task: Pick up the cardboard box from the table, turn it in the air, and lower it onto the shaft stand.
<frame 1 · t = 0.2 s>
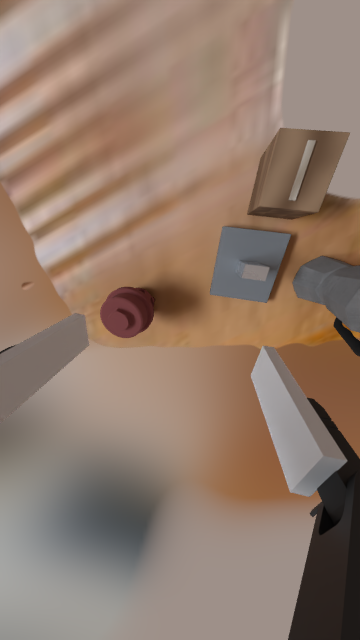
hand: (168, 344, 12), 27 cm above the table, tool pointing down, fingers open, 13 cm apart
cardboard box: (277, 190, 29), on the table
coffeepot: (315, 284, 35), on the table
shaft stand: (244, 266, 35), on the table
mechanical component: (142, 299, 41), on the table
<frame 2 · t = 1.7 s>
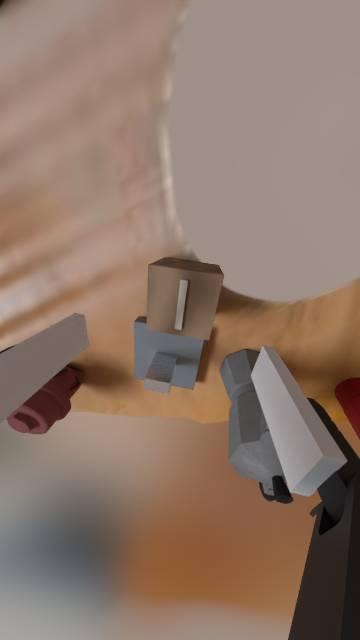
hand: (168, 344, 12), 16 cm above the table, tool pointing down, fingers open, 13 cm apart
cardboard box: (187, 287, 26), on the table
coffeepot: (244, 372, 32), on the table
shaft stand: (168, 351, 32), on the table
plastic cup: (350, 388, 30), on the table
mechanical component: (72, 372, 39), on the table
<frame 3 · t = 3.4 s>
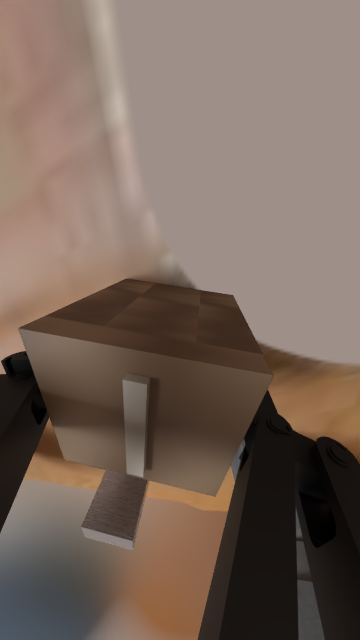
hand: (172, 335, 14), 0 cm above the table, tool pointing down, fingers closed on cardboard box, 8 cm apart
cardboard box: (172, 333, 14), on the table, touching gripper
coffeepot: (269, 459, 20), on the table
shaft stand: (145, 424, 20), on the table
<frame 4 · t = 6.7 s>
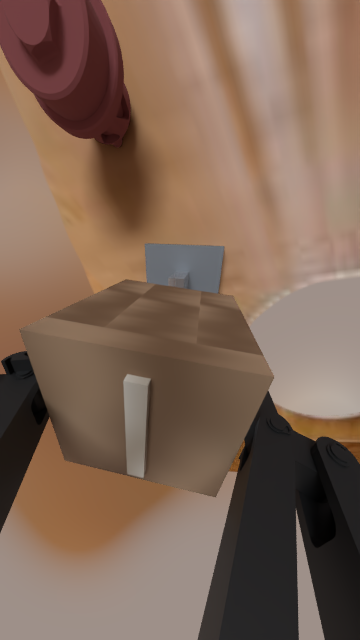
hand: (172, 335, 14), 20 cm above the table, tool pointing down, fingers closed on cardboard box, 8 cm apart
cardboard box: (172, 334, 14), point 19 cm above the table, touching gripper
shaft stand: (183, 279, 31), on the table
mechanical component: (112, 117, 23), on the table
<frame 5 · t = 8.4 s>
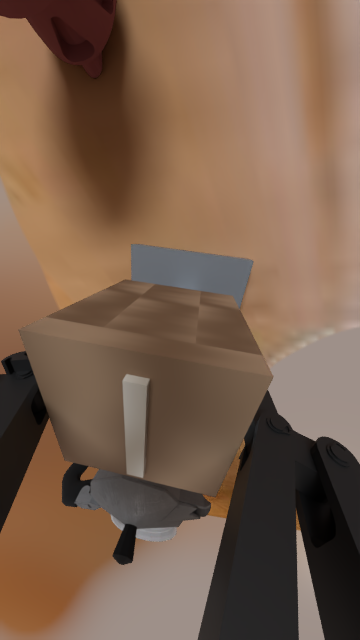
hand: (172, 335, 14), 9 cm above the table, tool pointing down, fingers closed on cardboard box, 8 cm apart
cardboard box: (172, 334, 14), point 9 cm above the table, touching gripper
coffeepot: (163, 380, 29), on the table
shaft stand: (185, 300, 22), on the table
plastic cup: (161, 443, 37), on the table
mechanical component: (86, 19, 13), on the table
when the fingers open (4 cm above the table, at t = 9.8 s): cardboard box drops 2 cm, resting on shaft stand.
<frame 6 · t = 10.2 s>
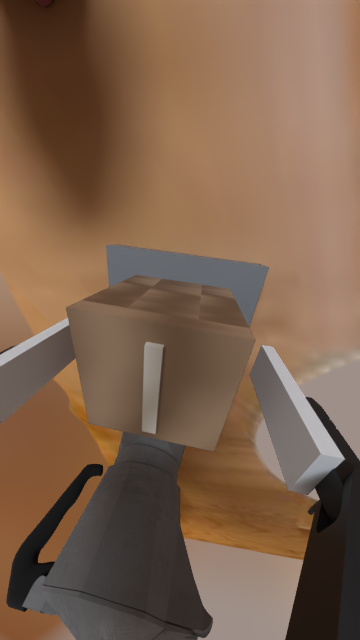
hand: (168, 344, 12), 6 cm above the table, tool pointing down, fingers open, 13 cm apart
cardboard box: (176, 323, 16), point 2 cm above the table, touching shaft stand
coffeepot: (155, 405, 24), on the table
shaft stand: (179, 314, 18), on the table
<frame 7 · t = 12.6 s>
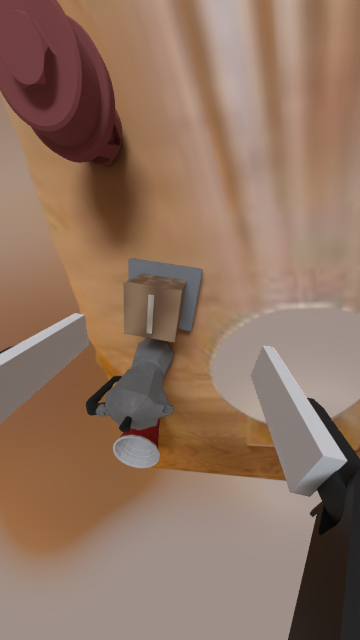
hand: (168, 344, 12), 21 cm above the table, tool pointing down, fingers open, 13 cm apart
cardboard box: (162, 298, 31), point 2 cm above the table, touching shaft stand
coffeepot: (151, 353, 40), on the table
shaft stand: (164, 294, 33), on the table
plastic cup: (150, 406, 48), on the table
mechanical component: (104, 138, 24), on the table
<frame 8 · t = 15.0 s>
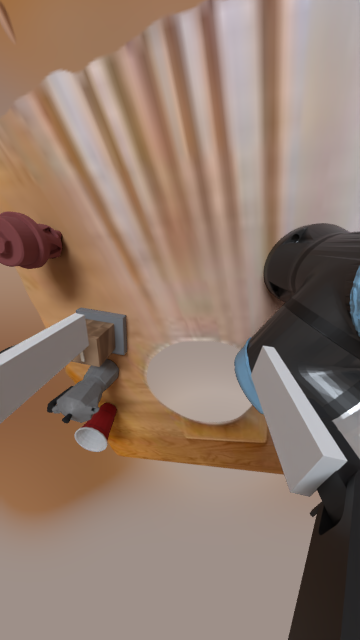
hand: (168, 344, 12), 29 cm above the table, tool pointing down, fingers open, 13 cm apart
cardboard box: (101, 333, 46), point 2 cm above the table, touching shaft stand
coffeepot: (103, 368, 55), on the table
shaft stand: (104, 330, 48), on the table
plastic cup: (109, 407, 63), on the table
mechanical component: (54, 242, 40), on the table
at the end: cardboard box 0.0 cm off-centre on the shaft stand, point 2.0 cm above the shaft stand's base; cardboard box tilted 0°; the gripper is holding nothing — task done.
